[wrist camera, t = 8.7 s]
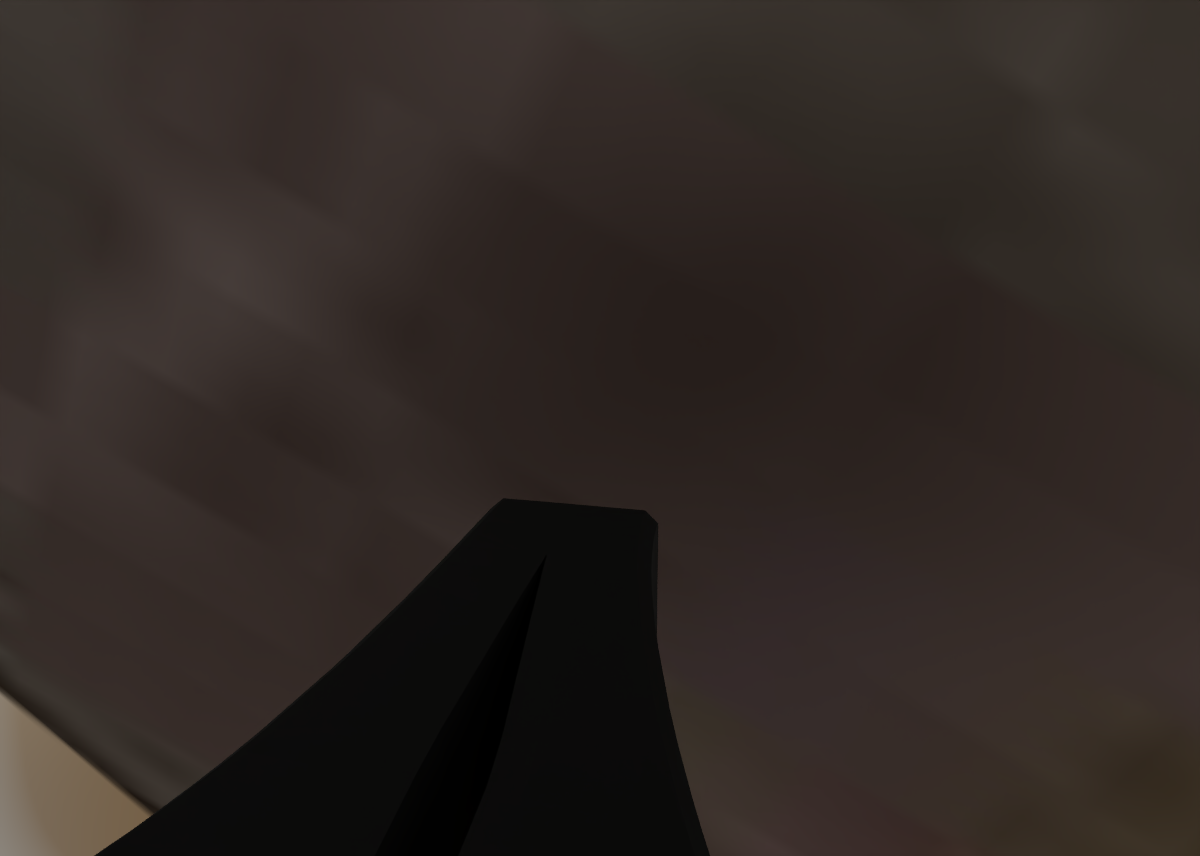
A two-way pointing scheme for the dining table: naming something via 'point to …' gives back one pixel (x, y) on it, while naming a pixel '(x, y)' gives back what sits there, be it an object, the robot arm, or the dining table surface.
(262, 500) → the dining table surface
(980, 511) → the dining table surface
